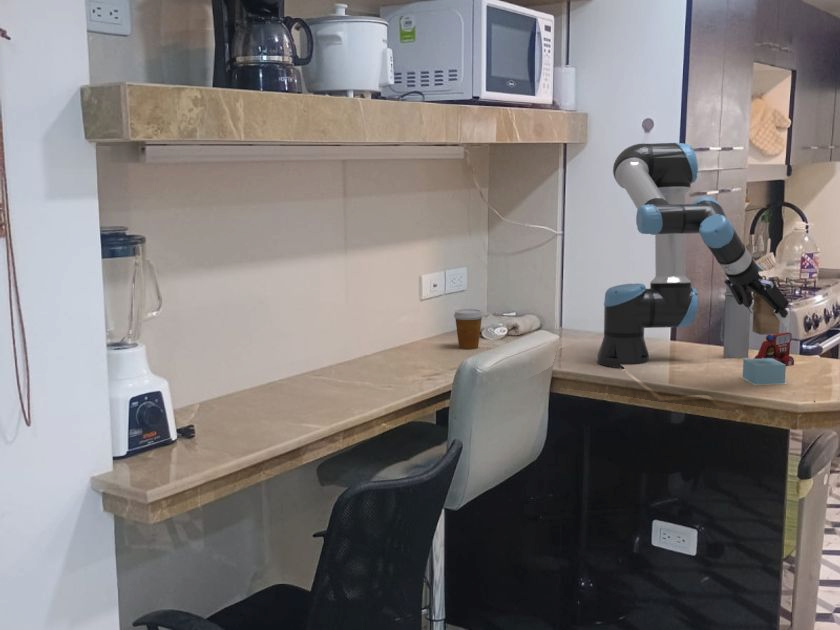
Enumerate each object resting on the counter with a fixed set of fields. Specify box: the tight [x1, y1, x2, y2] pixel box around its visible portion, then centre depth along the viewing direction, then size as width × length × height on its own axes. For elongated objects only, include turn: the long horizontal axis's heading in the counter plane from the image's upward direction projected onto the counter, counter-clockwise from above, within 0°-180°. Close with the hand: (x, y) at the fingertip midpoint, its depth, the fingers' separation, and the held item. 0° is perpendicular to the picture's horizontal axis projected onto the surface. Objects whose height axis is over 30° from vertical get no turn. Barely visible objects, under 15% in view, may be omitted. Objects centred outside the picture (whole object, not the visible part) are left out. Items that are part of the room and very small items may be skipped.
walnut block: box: [752, 293, 781, 336], centre depth 239 cm, size 5×5×10 cm
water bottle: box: [719, 284, 753, 359], centre depth 272 cm, size 9×8×25 cm
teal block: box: [742, 358, 787, 385], centre depth 242 cm, size 8×8×5 cm
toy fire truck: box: [753, 331, 795, 367], centre depth 260 cm, size 7×12×10 cm, turn 119°
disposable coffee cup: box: [453, 308, 484, 350], centre depth 296 cm, size 10×10×12 cm
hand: (774, 321), depth 241 cm, fingers closed on walnut block, 7 cm apart
